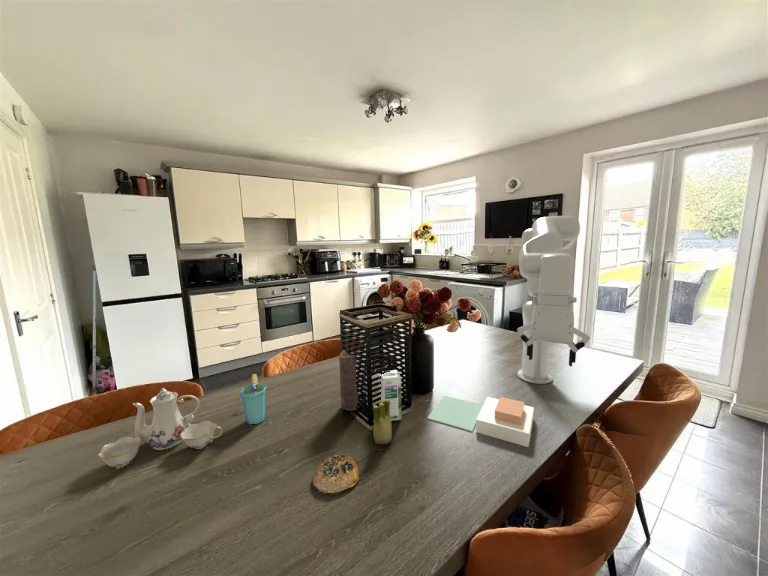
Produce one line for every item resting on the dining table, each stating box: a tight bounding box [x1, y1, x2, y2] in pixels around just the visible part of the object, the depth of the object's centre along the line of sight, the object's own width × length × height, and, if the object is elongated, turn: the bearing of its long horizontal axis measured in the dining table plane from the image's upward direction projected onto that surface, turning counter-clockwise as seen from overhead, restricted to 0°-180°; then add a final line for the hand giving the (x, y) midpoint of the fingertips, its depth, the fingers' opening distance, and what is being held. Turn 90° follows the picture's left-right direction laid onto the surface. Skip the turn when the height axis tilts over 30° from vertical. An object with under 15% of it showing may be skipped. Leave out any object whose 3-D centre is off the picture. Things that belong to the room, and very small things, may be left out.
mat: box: [426, 395, 484, 433], centre depth 100 cm, size 16×14×1 cm
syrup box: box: [381, 369, 403, 422], centre depth 97 cm, size 6×6×14 cm
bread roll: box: [312, 453, 360, 493], centre depth 73 cm, size 11×11×5 cm
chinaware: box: [97, 387, 223, 468], centre depth 84 cm, size 28×17×17 cm, turn 118°
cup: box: [239, 373, 267, 425], centre depth 95 cm, size 14×8×15 cm, turn 27°
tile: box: [494, 396, 525, 425], centre depth 91 cm, size 9×7×2 cm
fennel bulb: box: [372, 399, 393, 445], centre depth 85 cm, size 6×5×12 cm
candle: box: [338, 350, 358, 412], centre depth 102 cm, size 8×7×20 cm
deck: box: [475, 396, 535, 448], centre depth 92 cm, size 15×14×4 cm
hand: (550, 361), depth 84 cm, fingers open, 9 cm apart
